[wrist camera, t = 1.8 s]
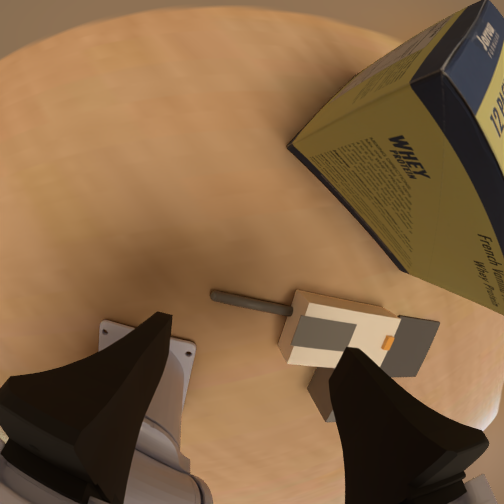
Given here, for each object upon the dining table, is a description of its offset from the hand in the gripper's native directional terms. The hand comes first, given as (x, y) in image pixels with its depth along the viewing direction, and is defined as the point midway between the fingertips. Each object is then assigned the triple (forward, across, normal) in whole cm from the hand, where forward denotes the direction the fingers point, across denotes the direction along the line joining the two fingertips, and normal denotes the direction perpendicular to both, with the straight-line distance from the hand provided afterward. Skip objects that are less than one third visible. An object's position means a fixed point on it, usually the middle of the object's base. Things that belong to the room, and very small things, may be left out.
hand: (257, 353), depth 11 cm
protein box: (+14, -9, -9) cm, 19 cm away
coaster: (+12, -18, +7) cm, 23 cm away
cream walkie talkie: (+10, -5, +4) cm, 12 cm away
